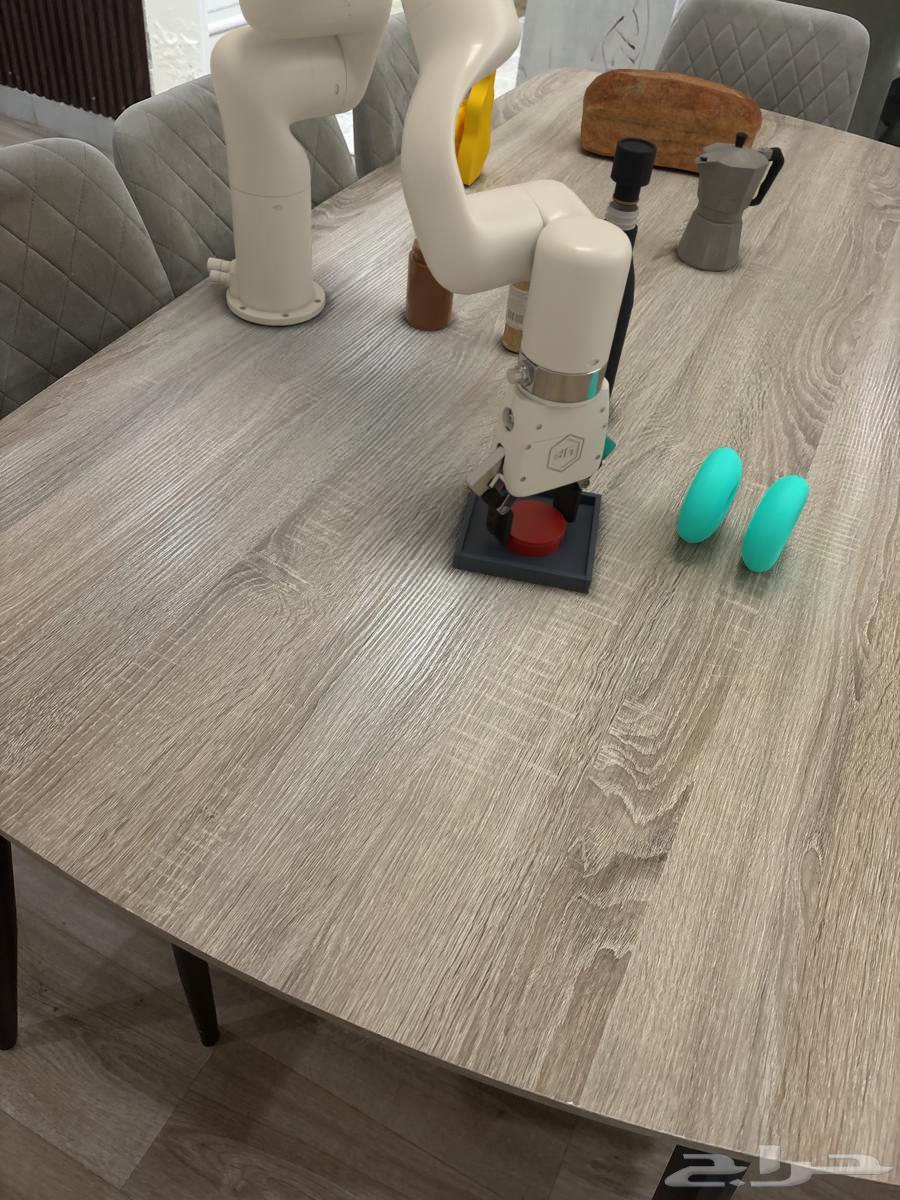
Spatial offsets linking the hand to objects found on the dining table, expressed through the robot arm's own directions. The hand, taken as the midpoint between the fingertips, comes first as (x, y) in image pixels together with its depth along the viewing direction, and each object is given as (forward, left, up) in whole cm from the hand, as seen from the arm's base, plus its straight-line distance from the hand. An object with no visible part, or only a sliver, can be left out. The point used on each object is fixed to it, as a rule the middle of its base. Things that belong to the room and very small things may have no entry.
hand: (531, 523), depth 93 cm
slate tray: (0, 0, -2) cm, 2 cm away
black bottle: (+3, +24, -2) cm, 24 cm away
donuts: (+20, +4, -2) cm, 20 cm away
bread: (+10, +108, -2) cm, 108 cm away
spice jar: (-6, +36, -2) cm, 36 cm away
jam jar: (-18, +39, -2) cm, 43 cm away
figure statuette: (-22, +85, -2) cm, 88 cm away
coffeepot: (+19, +71, -2) cm, 74 cm away
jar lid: (0, 0, 0) cm, 1 cm away
